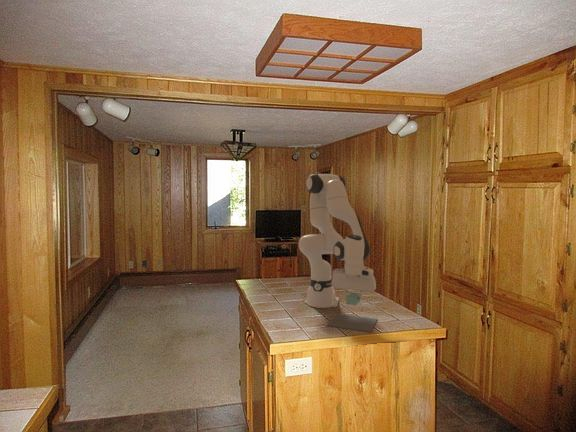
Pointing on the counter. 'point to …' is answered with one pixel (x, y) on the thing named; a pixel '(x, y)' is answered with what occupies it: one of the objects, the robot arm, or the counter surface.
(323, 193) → the robot arm
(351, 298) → the teal rectangular block
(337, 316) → the mat
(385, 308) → the counter surface
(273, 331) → the counter surface
